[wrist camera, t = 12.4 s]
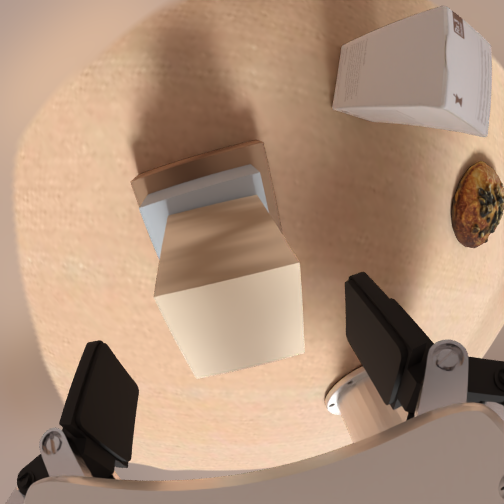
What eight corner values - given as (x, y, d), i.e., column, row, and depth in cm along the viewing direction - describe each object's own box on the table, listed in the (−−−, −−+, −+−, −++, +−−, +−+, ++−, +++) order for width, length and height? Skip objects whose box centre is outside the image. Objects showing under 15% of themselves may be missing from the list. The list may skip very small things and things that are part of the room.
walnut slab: (254, 139, 20) (263, 142, 17) (277, 244, 24) (287, 260, 21) (139, 173, 19) (130, 182, 17) (176, 272, 24) (174, 292, 21)
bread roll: (444, 255, 28) (473, 269, 23) (442, 163, 24) (475, 167, 19) (488, 233, 29) (513, 243, 24) (487, 156, 25) (515, 160, 20)
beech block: (256, 194, 15) (299, 262, 9) (268, 268, 18) (304, 353, 12) (167, 215, 15) (153, 297, 9) (191, 286, 17) (196, 378, 11)
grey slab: (250, 164, 18) (260, 172, 15) (271, 255, 21) (282, 276, 18) (147, 194, 17) (138, 208, 15) (181, 281, 21) (179, 305, 18)
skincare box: (373, 123, 20) (491, 146, 9) (326, 108, 19) (442, 114, 8) (382, 59, 17) (497, 47, 7) (336, 41, 16) (446, 2, 6)
